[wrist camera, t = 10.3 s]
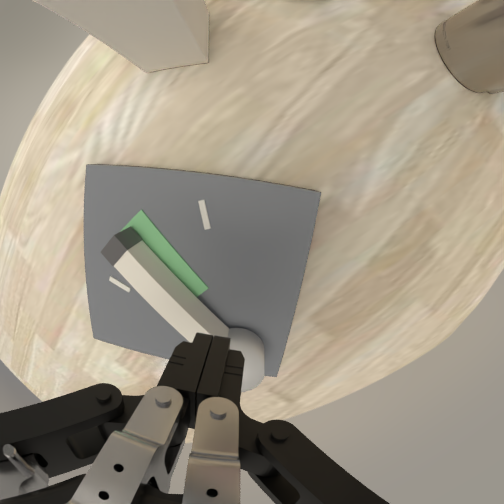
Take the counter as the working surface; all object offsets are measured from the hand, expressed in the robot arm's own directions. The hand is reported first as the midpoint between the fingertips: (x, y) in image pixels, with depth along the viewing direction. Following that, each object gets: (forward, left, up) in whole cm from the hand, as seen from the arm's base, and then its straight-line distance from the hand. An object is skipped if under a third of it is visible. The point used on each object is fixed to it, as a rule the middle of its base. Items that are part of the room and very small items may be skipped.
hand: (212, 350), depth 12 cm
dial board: (+5, +3, -14) cm, 15 cm away
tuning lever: (+3, +5, -12) cm, 13 cm away
